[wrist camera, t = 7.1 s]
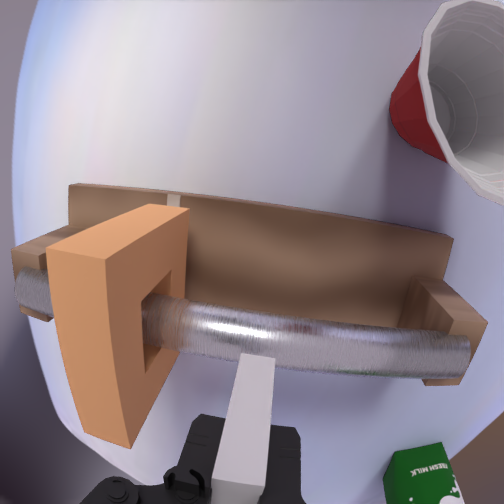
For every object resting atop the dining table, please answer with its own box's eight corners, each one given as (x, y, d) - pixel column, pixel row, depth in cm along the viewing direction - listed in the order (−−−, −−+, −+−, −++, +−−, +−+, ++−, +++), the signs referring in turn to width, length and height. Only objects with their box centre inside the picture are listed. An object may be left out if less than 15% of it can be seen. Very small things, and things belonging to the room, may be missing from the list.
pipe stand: (78, 183, 25) (7, 199, 16) (445, 234, 23) (506, 270, 14) (83, 304, 28) (29, 349, 20) (406, 356, 27) (438, 420, 18)
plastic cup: (388, 202, 23) (467, 243, 12) (335, 71, 20) (376, 4, 9) (489, 162, 21) (588, 177, 9) (445, 44, 18) (527, -4, 7)
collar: (149, 203, 21) (45, 247, 11) (189, 208, 21) (105, 259, 11) (148, 338, 24) (84, 432, 14) (183, 346, 24) (130, 449, 14)
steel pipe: (40, 255, 19) (8, 271, 16) (456, 319, 17) (480, 346, 14) (45, 298, 20) (17, 318, 17) (438, 362, 19) (456, 393, 15)
